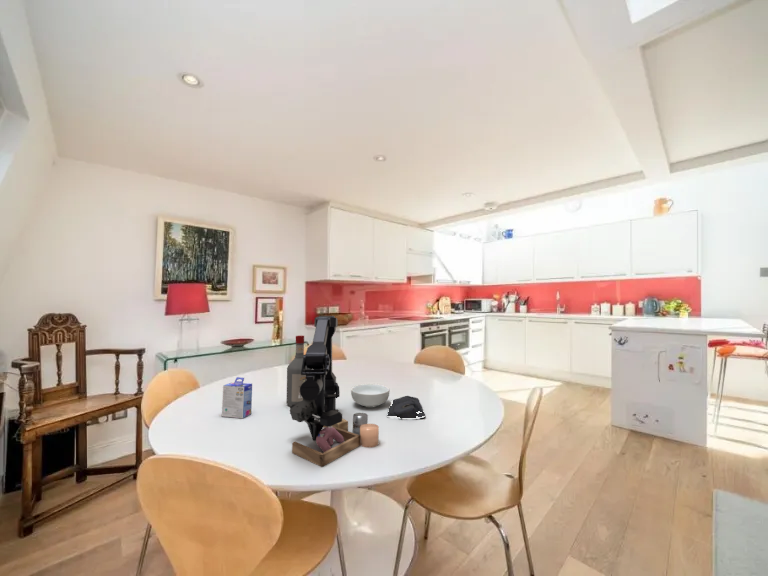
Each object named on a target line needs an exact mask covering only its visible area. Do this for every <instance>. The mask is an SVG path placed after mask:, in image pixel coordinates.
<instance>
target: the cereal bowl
mask: <svg viewBox="0 0 768 576" xmlns="http://www.w3.org/2000/svg"><path fill="white" fill-rule="evenodd" d="M350 393H351V394H350V395H351V398H352V400H353V401H354V402H355V403H356V404H358V405H361V406H362V407H363V406H366V407H365V408H374V407H373V406H377V405H378V406H380V405H383V404H384V403H386V402H387V400H388V399H389V397H390V388H389V387H388V386H386V385H383V384H378V383H361V384H357V385H355V386H352V387H351V389H350ZM378 406H377V407H378Z"/></svg>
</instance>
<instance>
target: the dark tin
mask: <svg viewBox="0 0 768 576" xmlns="http://www.w3.org/2000/svg"><path fill="white" fill-rule="evenodd" d="M368 416H369V415H368V414H367V413H364V412H356V413H353V415H352V429H351V430H352V433H355V434H358V435H360V426H361V425H363V424H368V422H369V421H368V418H369V417H368Z"/></svg>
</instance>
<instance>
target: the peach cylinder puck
mask: <svg viewBox="0 0 768 576" xmlns="http://www.w3.org/2000/svg"><path fill="white" fill-rule="evenodd" d="M379 427H380V426H379V425H377V424H375V423H367V424H363V425H361V426H360V435H361V443H360V446H361V447H363V448H375V447H377V446H378V445H379V444H378V443H379V437H380V436H379V433H380V431H379V430H380V429H379Z"/></svg>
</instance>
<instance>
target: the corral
mask: <svg viewBox="0 0 768 576" xmlns="http://www.w3.org/2000/svg"><path fill="white" fill-rule="evenodd" d="M330 427H331V426H330ZM332 427H334V426H332ZM334 428H335V429H336V430H337V431H338V432H339V433H340V434H341V435H342V436H343V438H344V442H343V443H339V444H337V445H336V446H333V447H332V448H331V449H329V450H328V451H326V452H321V451H318V450H316V449H313V448H311V447H310V446H306V445H304V444H302V443H299V442H298V441H293V442H291V446H292V447H291V453H292V454H293V455H296V456H298V457H300V458H302V459H304V460H306V461H308V462H311V463H313V464H314V465H317V466H319V467H321V468H322V467H324V466H326V465H328V464H330V463H332V462H334V461H335V460H337V459H338V458H340V457H342V456H343V455H344V456H345V455H346V454H348V453H350V452H351V451H352V450H355V449H357V448H358V447H360V446H361V445H360V443H361V435H358V434H355V433H352V432H351V431H349V430H348V431H346V430H343V429H340V428H337V427H334Z"/></svg>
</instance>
